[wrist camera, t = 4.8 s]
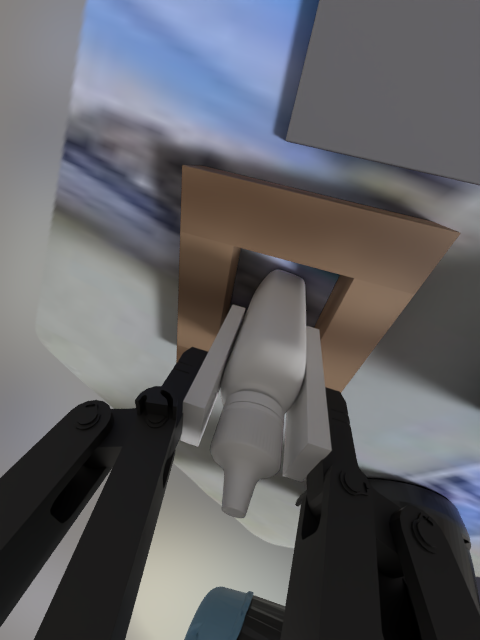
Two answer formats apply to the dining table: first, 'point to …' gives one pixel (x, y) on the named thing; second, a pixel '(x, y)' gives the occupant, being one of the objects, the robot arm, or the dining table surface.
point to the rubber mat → (394, 85)
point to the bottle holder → (300, 259)
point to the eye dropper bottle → (260, 388)
